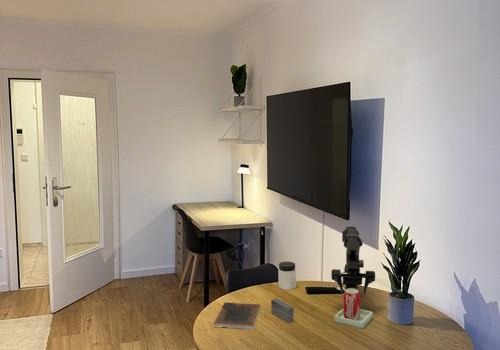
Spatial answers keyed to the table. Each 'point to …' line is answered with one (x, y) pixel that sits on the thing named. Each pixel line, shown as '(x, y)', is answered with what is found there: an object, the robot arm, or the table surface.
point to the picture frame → (238, 315)
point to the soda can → (351, 304)
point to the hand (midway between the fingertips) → (353, 293)
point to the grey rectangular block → (282, 310)
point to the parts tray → (359, 323)
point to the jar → (287, 275)
